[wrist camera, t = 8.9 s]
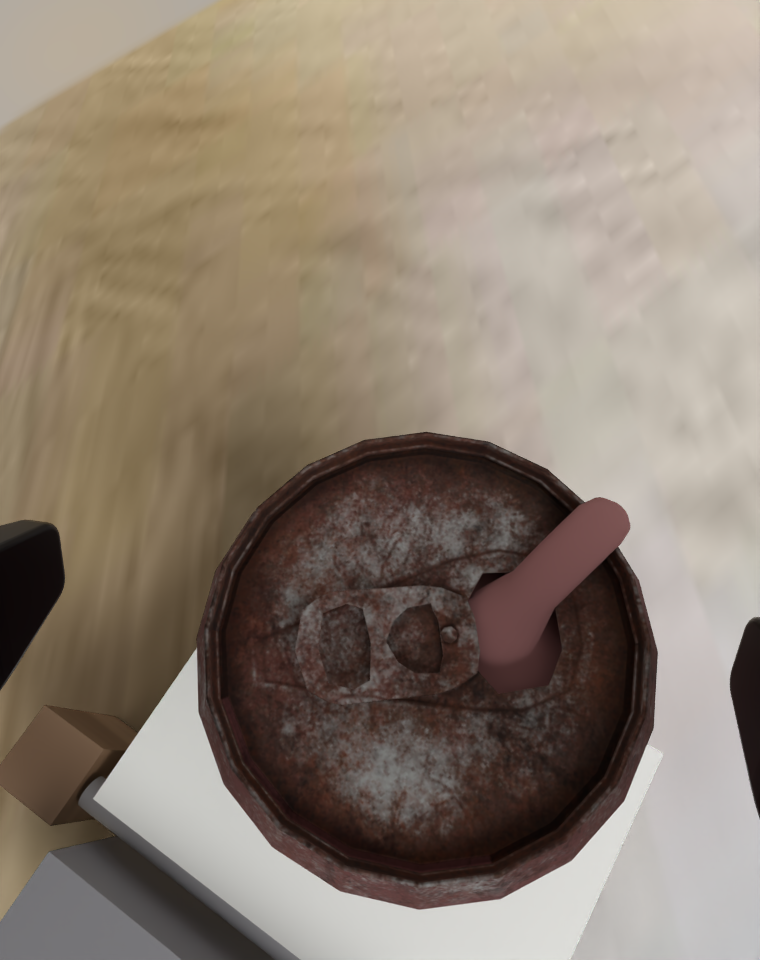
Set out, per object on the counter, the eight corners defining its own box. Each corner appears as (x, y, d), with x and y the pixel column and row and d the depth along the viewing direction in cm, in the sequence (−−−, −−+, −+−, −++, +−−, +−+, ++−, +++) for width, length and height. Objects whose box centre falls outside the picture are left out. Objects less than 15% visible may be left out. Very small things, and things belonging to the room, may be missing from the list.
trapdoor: (419, 1252, 16) (415, 1424, 12) (34, 923, 19) (-78, 968, 14) (644, 761, 19) (703, 760, 15) (289, 547, 22) (257, 497, 18)
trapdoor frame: (554, 1146, 18) (593, 1261, 13) (73, 775, 22) (-10, 777, 17) (590, 1062, 18) (637, 1148, 14) (115, 716, 22) (44, 704, 18)
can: (568, 710, 21) (808, 632, 8) (413, 869, 20) (409, 1074, 7) (429, 565, 23) (447, 315, 10) (278, 702, 22) (75, 615, 9)
